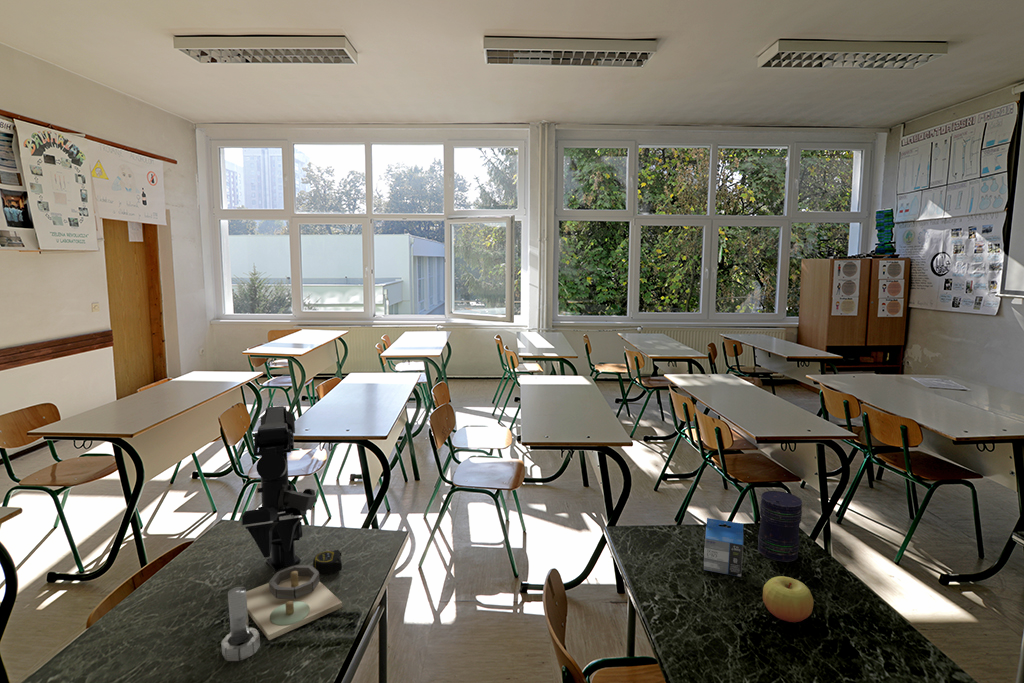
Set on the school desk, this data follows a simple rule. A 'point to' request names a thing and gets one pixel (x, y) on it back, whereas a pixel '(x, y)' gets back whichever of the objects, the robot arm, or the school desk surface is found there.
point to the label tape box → (723, 547)
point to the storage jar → (779, 525)
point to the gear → (239, 628)
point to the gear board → (290, 600)
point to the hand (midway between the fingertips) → (277, 554)
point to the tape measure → (328, 562)
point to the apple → (787, 599)
